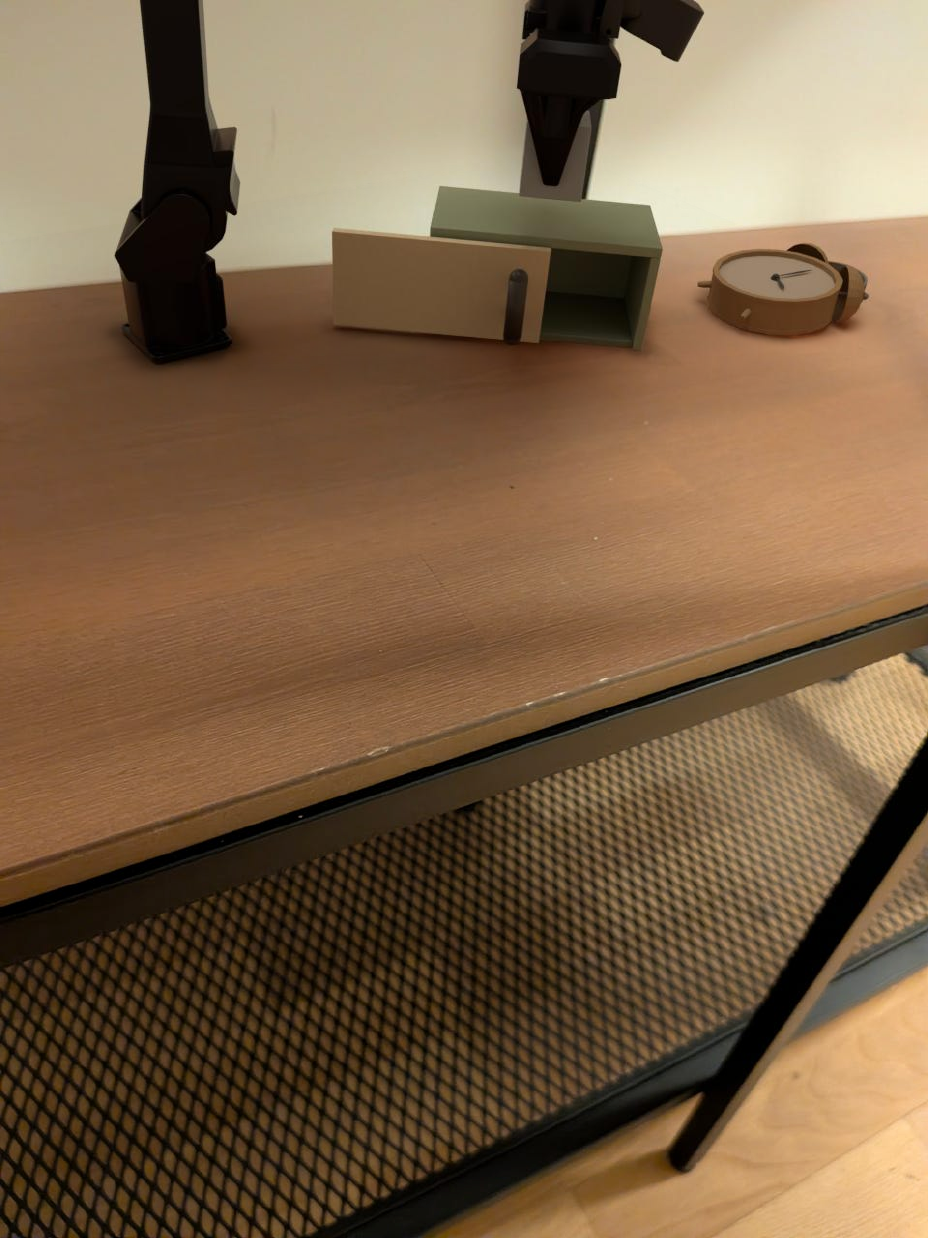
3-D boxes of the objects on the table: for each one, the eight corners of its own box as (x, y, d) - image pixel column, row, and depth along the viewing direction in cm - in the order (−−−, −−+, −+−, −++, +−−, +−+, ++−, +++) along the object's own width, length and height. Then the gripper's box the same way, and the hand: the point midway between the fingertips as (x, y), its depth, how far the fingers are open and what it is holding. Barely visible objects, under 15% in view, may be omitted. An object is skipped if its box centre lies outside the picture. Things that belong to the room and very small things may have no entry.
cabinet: (425, 331, 79) (430, 226, 73) (433, 283, 86) (439, 185, 81) (641, 351, 79) (663, 248, 74) (631, 301, 87) (650, 204, 81)
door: (323, 351, 74) (321, 254, 69) (334, 320, 78) (333, 226, 73) (539, 371, 74) (552, 275, 69) (538, 338, 79) (550, 246, 74)
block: (580, 202, 69) (591, 127, 66) (519, 196, 69) (526, 121, 66) (579, 182, 73) (589, 110, 69) (520, 177, 73) (527, 104, 69)
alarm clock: (686, 259, 87) (826, 220, 90) (682, 310, 91) (817, 271, 94) (756, 311, 80) (907, 266, 83) (749, 363, 83) (894, 319, 86)
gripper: (732, -57, 53) (671, 230, 63) (693, -91, 67) (649, 148, 77) (532, -76, 53) (504, 214, 63) (535, -106, 67) (512, 135, 77)
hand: (550, 174), depth 70 cm, fingers closed on block, 4 cm apart
